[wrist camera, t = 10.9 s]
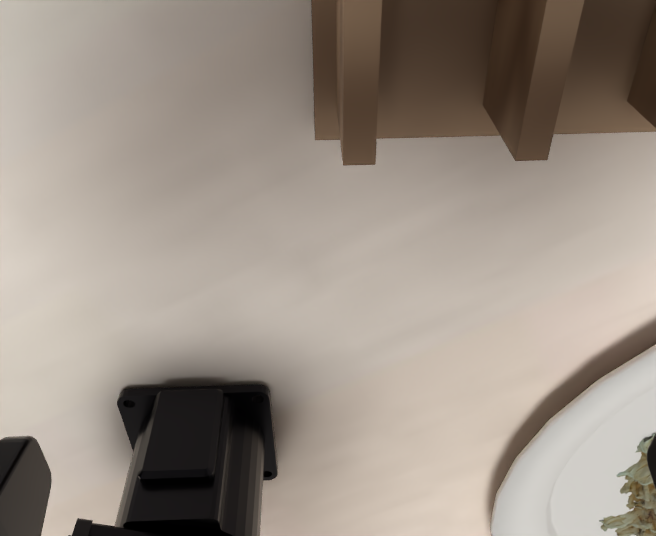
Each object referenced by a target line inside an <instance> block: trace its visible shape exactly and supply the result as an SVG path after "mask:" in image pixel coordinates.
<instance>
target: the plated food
mask: <svg viewBox="0 0 656 536" xmlns="http://www.w3.org/2000/svg"><path fill="white" fill-rule="evenodd" d="M655 433H656V345H654V346H652V347H651V348H649V349H647V350H646V351H644V352H643V353H641V354H639V355H638V356H636V357H634V358H633V359H631V360H629V361H628V362H626V363H625V364H623V365H621V366H620V367H618V368H616V369H615V370H613V371H611V372H610V373H608V374H607V375H605V376H603V377H602V378H600V379H598V380H597V381H596V382H595V383H593V384H592V385H591V386H590V387H588V388H587V389H586V390H585V391H584V392H582V393H581V394H580V395H579V396H577V397H576V398H575V399H574V400H573V401H571V402H570V403H569V404H568V405H566V406H565V407H564V408H563V409H562V410H560V411H559V412H558V413H557V414H555V415H554V416H553V417H552V418H551V419H549V420H548V421H547V423H546V424H545V425H544V426H543V427H542V428H541V429H540V431H539V432H538V433H537V434H536V435H535V436H534V438H533V439H532V440H531V441H530V442H529V443H528V444H527V446H526V447H525V448H524V449H523V450H522V451H521V452H520V454H519V455H518V456H517V457H516V458H515V460H514V462H513V464H512V465H511V467H510V469H509V471H508V473H507V475H506V477H505V478H504V480H503V482H502V484H501V486H500V488H499V490H498V492H497V493H496V497H495V502H494V508H493V513H492V518H491V523H490V528H491V534H492V536H656V490H655V486H654V483H653V480H652V477H651V474H650V471H649V468H648V464H647V450H648V447H649V445H650V443H651V441H652V439H653V437H654V435H655Z"/></svg>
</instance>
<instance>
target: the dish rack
mask: <svg viewBox="0 0 656 536" xmlns="http://www.w3.org/2000/svg"><path fill="white" fill-rule="evenodd" d="M311 1H312V40H313V79H314V118H315V140H340V142H341V151H342V160H343V165H375V161H376V139H380V138H419V137H459V136H498V135H501V137H502V139H503V141H504V142H505V144H506V146H507V147H508V149H509V151H510V152H511V154H512V156H513V158H514V159H515V161H529V160H547V159H548V155H549V150H550V146H551V142H552V137H553V134H577V133H617V132H656V0H311Z"/></svg>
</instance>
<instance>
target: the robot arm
mask: <svg viewBox="0 0 656 536" xmlns="http://www.w3.org/2000/svg"><path fill="white" fill-rule="evenodd" d="M257 395H258V396H257ZM117 405H118V408H119V411H120V413H121V416H122V419H123V422H124V425H125V428H126V431H127V434H128V437H129V440H130V443H131V446H132V449H133V456H132V460H131V464H130V467H129V471H128V475H127V479H126V483H125V487H124V491H123V495H122V499H121V503H120V507H119V511H118V514H117V518H116V522H115V526H108V525H102V524H95V523H92V522H93V520H86V519H79V518H78V519H77V522H76V525H75V528H74V531H73V534H72V536H260V522H261V504H262V486H263V480H272V479H274V478H275V477H276V476H277V470H278V465H277V456H276V446H275V437H274V427H273V417H272V408H271V398H270V391H269V389H268V388H267V387H266V386H263V385H229V386H199V387H169V388H139V389H125V390H123V391H121V392H120V394H119V397H118V401H117ZM647 464H648V468H649V471H650V474H651V477H652V480H653V483H654V486H655V490H656V433H655V435H654V437H653V439H652V441H651V443H650V445H649V447H648V450H647ZM50 489H51V472H50V469H49V466H48V464H47V462H46V460H45V457H44V455H43V453H42V450H41V448H40V446H39V444H38V442H37V440H36V439H35V438H33V437H32V436H17V437H5V438H3V439H1V440H0V536H41V532H42V528H43V523H44V518H45V513H46V508H47V503H48V499H49V494H50ZM68 536H71V535H68Z"/></svg>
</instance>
